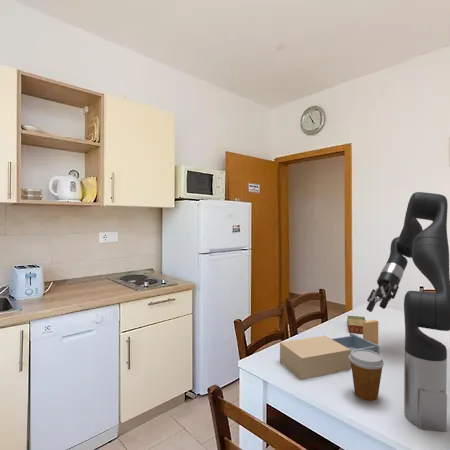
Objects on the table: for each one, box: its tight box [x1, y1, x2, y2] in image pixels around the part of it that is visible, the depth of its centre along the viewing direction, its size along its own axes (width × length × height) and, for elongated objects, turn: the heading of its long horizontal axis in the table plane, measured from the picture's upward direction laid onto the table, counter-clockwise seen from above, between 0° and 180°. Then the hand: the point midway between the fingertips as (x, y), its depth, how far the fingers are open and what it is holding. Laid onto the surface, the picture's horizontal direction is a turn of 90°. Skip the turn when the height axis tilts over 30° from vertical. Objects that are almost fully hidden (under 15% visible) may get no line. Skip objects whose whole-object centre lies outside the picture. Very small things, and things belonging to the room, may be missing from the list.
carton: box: [346, 315, 367, 335], centre depth 149 cm, size 8×16×4 cm, turn 160°
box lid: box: [279, 335, 352, 380], centre depth 110 cm, size 20×14×7 cm
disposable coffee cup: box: [349, 349, 385, 402], centre depth 91 cm, size 10×10×12 cm
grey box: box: [331, 319, 380, 354], centre depth 115 cm, size 26×14×12 cm, turn 110°
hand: (375, 309), depth 118 cm, fingers open, 8 cm apart
